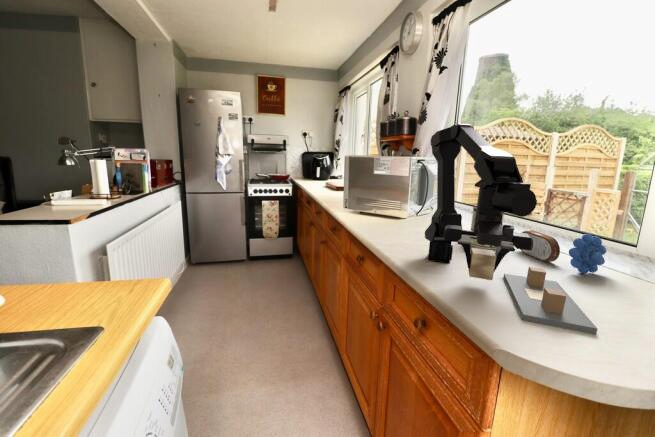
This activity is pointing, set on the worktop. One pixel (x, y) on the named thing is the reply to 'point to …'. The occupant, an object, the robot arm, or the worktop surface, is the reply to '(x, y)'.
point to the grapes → (587, 253)
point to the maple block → (482, 263)
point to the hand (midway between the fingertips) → (480, 270)
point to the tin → (543, 247)
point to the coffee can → (474, 241)
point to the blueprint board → (547, 317)
